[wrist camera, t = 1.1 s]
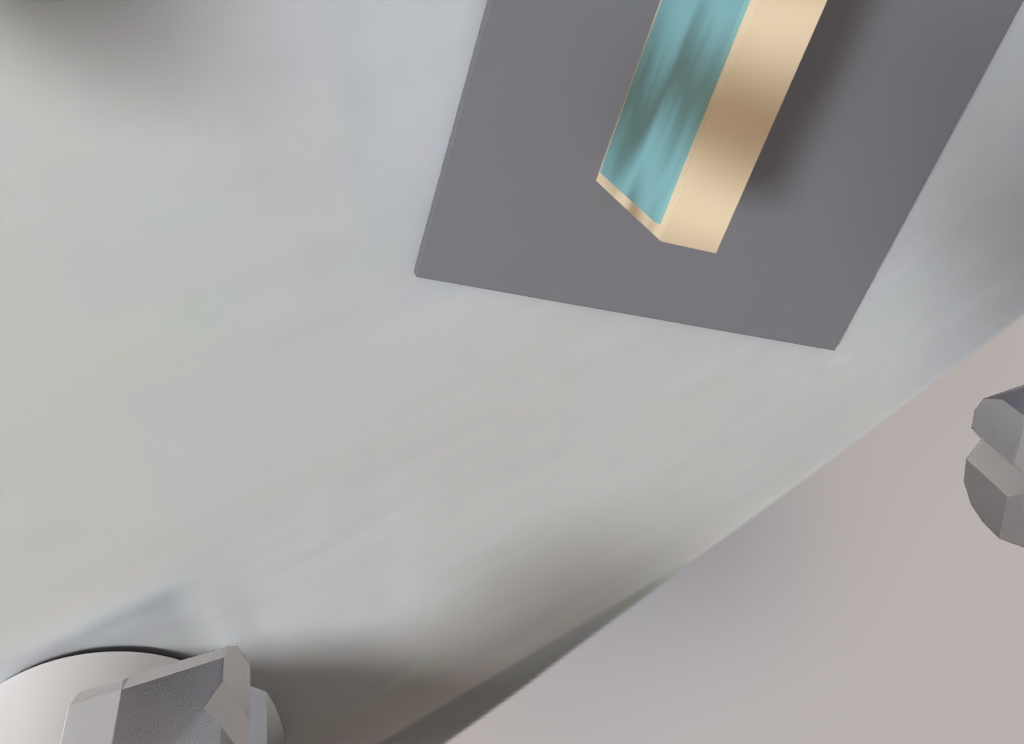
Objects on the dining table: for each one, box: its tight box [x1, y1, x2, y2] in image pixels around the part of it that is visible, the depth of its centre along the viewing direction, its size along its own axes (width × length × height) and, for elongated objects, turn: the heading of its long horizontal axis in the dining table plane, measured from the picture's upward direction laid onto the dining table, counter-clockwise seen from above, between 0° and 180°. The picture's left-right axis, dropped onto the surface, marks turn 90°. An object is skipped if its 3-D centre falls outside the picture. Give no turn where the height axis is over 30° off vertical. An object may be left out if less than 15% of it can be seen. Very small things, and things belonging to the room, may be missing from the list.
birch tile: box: [596, 0, 827, 253], centre depth 33 cm, size 10×3×7 cm, turn 162°
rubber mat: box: [414, 0, 1022, 351], centre depth 37 cm, size 22×24×1 cm
